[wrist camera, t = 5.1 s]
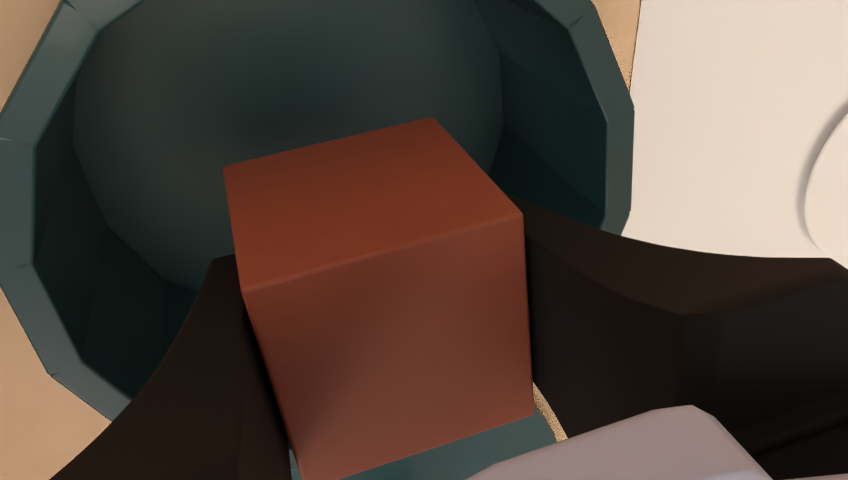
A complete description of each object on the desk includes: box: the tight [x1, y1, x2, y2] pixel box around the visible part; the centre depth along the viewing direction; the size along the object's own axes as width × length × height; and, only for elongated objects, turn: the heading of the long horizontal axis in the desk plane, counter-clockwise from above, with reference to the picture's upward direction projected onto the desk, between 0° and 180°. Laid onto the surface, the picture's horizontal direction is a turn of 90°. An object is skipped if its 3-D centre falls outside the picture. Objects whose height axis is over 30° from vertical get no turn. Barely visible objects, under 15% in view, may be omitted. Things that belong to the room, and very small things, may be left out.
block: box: [223, 117, 534, 480], centre depth 13 cm, size 4×4×4 cm
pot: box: [0, 0, 635, 470], centre depth 17 cm, size 13×13×6 cm
